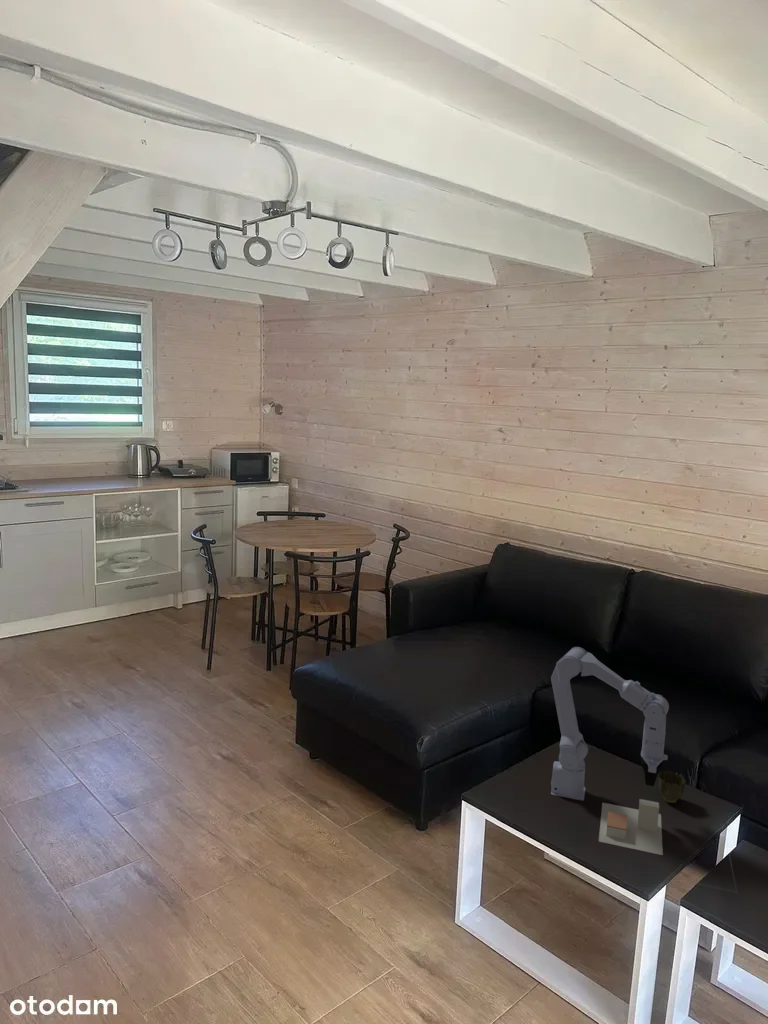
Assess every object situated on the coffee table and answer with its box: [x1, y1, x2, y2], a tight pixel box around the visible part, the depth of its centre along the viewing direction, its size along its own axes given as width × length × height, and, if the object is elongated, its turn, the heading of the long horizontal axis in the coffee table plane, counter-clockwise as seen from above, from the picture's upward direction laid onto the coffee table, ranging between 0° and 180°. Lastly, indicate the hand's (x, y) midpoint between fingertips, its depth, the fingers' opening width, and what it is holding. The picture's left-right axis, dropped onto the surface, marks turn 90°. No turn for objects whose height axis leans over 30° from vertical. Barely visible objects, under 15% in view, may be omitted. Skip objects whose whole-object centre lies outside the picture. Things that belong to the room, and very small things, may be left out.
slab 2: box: [638, 798, 660, 832], centre depth 199 cm, size 5×3×7 cm, turn 71°
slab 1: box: [606, 812, 627, 840], centre depth 197 cm, size 5×3×7 cm
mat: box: [598, 802, 664, 856], centre depth 199 cm, size 16×20×1 cm
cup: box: [658, 770, 687, 804], centre depth 213 cm, size 8×7×8 cm
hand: (649, 784), depth 204 cm, fingers closed
